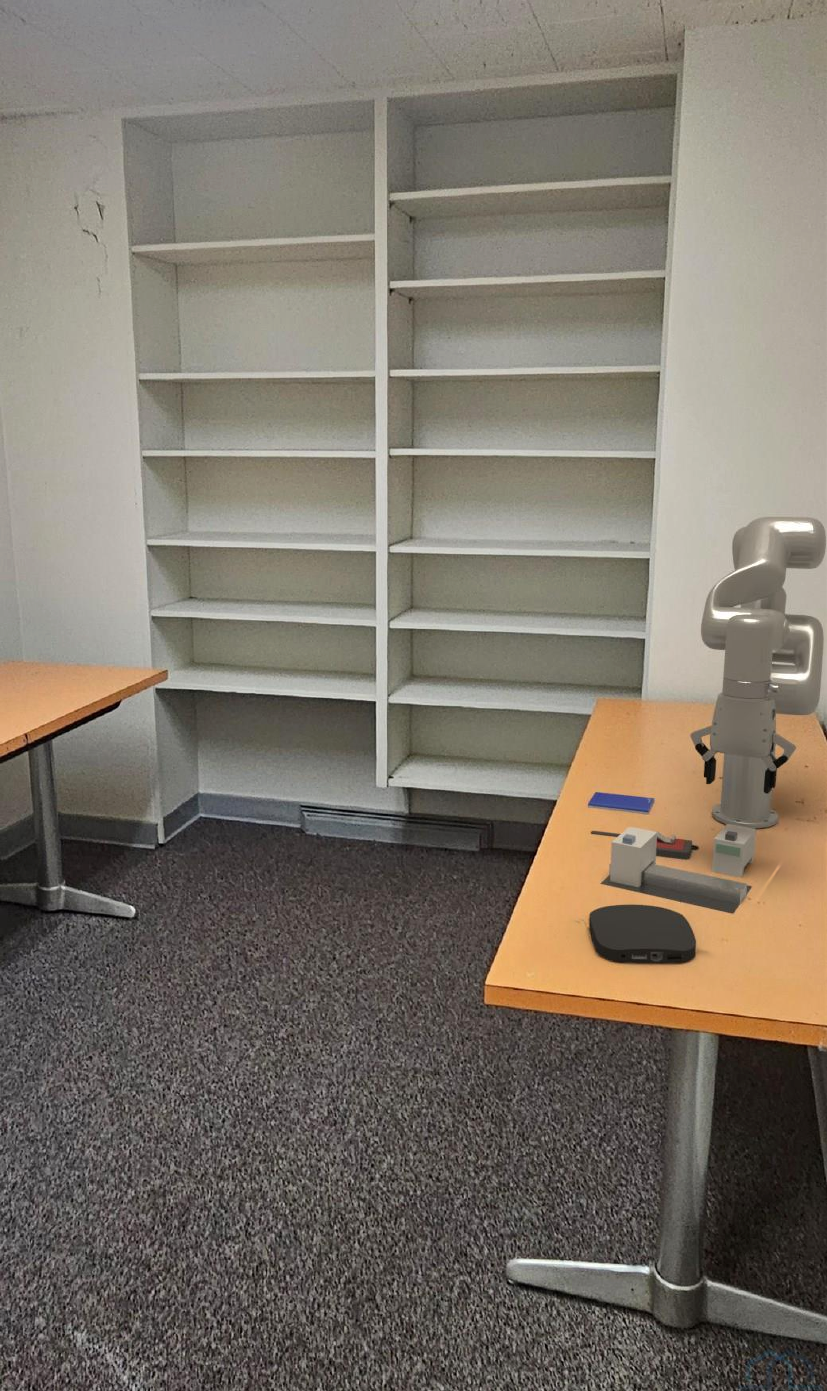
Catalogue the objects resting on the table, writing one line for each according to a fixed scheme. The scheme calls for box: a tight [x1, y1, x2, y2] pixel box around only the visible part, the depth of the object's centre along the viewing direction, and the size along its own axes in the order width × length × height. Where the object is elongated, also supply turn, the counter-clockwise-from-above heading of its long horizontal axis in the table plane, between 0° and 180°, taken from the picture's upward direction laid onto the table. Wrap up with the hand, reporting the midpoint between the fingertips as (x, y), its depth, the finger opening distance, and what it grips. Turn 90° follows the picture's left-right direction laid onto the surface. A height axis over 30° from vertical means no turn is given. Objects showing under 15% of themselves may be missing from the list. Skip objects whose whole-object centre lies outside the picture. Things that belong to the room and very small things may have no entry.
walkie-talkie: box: [590, 830, 699, 861], centre depth 185 cm, size 9×4×20 cm
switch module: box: [711, 824, 757, 878], centre depth 175 cm, size 9×5×8 cm, turn 148°
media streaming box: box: [588, 904, 697, 964], centre depth 151 cm, size 15×15×3 cm
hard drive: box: [587, 791, 656, 815], centre depth 210 cm, size 2×8×12 cm
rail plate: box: [600, 862, 753, 915], centre depth 168 cm, size 12×22×3 cm, turn 58°
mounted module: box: [610, 826, 658, 887], centre depth 171 cm, size 8×5×8 cm, turn 148°
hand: (738, 786), depth 172 cm, fingers open, 9 cm apart
